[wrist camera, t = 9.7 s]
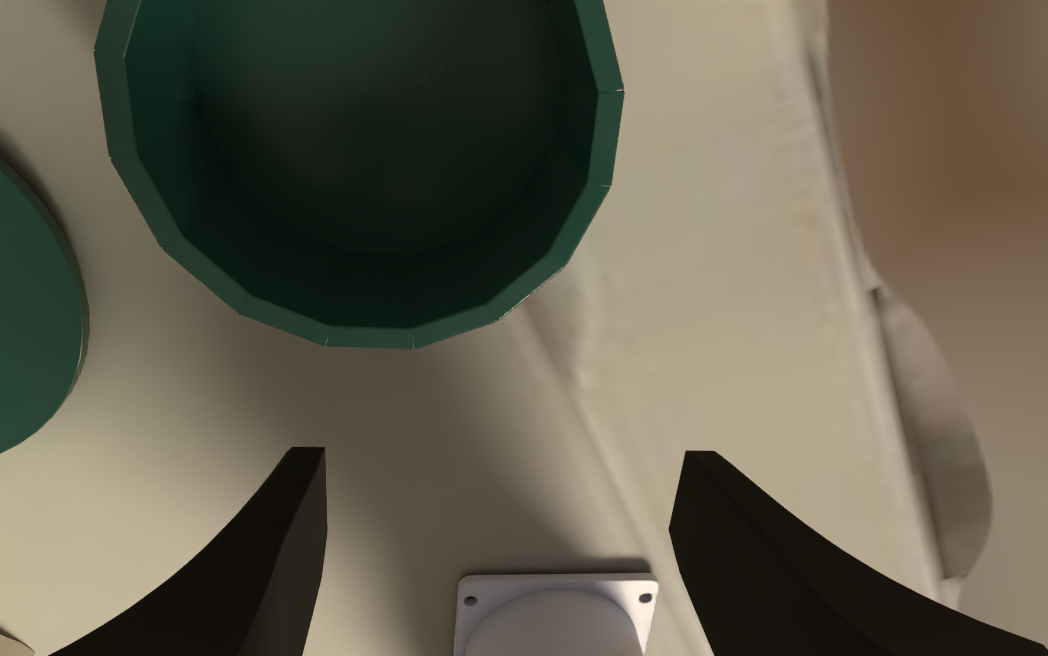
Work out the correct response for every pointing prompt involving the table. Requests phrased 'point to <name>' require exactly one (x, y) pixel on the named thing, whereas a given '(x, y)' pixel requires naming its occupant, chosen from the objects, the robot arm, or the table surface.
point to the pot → (363, 152)
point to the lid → (36, 313)
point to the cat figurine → (13, 648)
